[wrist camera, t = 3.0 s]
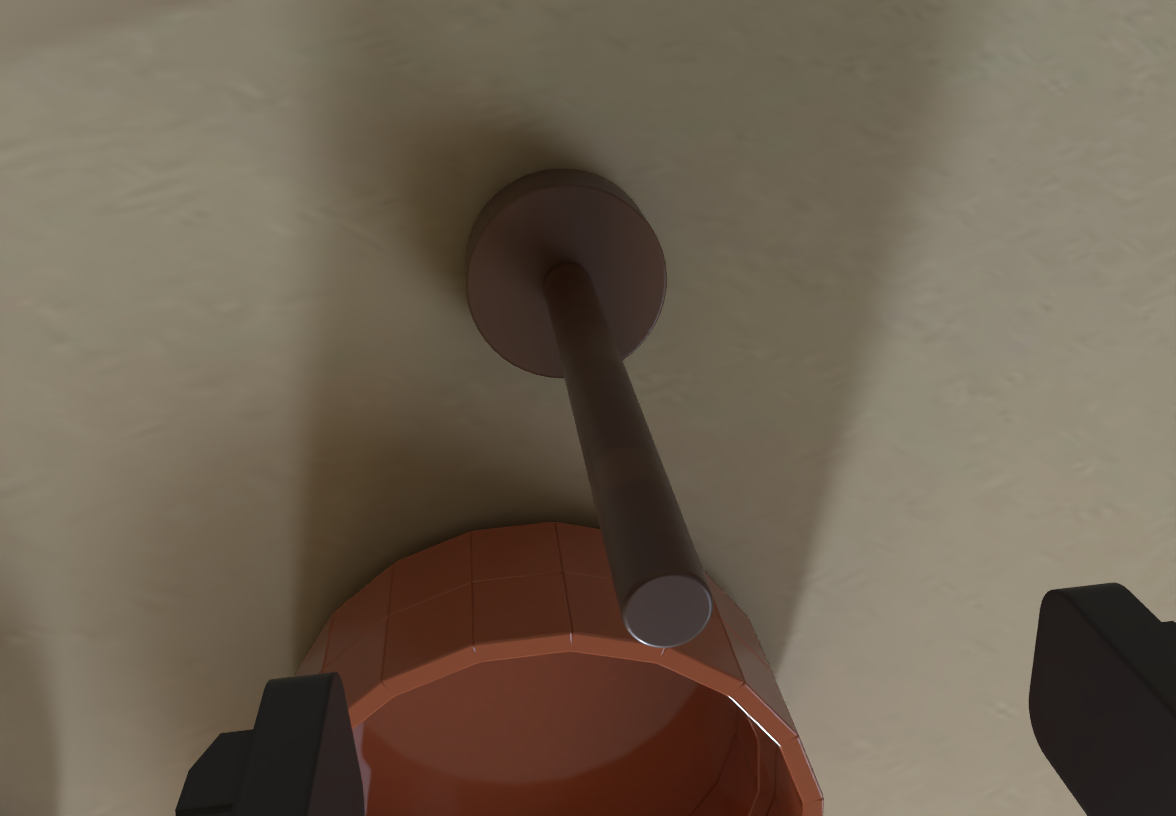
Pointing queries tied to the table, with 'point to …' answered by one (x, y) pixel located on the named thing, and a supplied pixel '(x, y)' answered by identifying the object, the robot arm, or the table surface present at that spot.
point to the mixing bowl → (552, 692)
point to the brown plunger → (593, 370)
